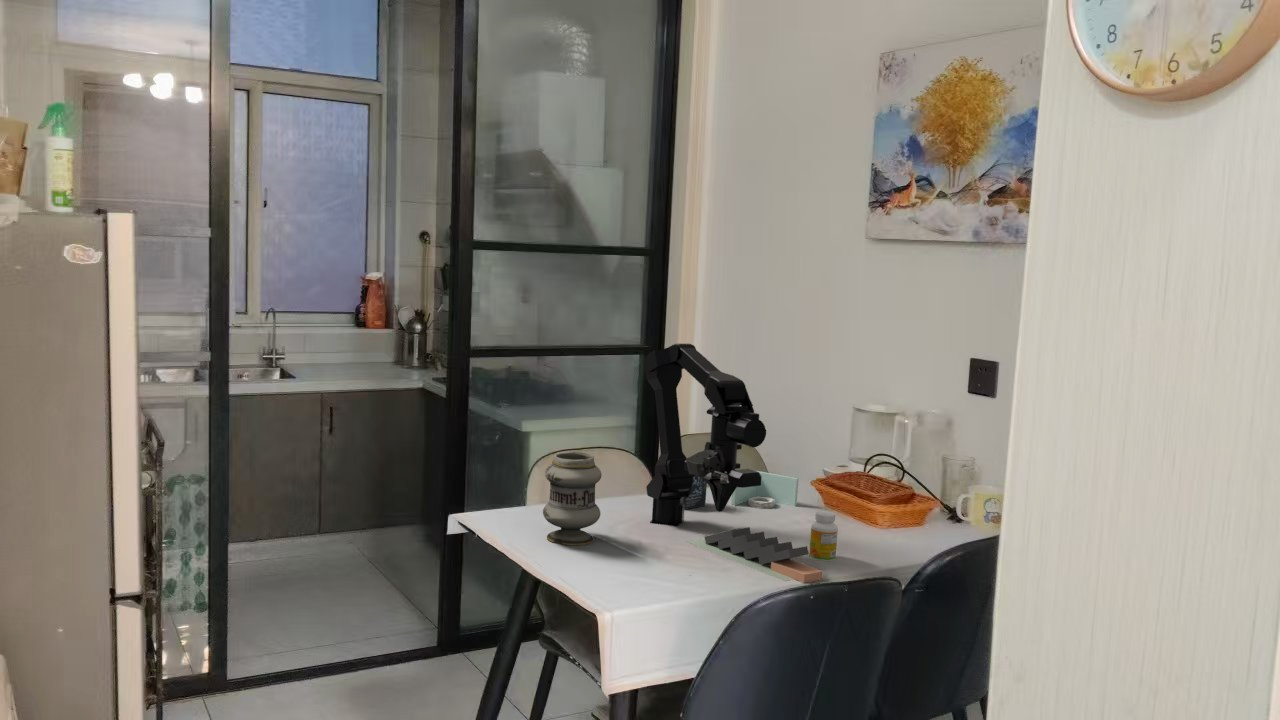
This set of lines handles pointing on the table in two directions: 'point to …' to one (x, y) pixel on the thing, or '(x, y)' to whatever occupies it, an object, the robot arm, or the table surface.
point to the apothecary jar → (572, 497)
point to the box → (696, 494)
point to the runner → (739, 558)
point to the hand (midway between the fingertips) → (719, 511)
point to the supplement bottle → (823, 537)
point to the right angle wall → (768, 492)
